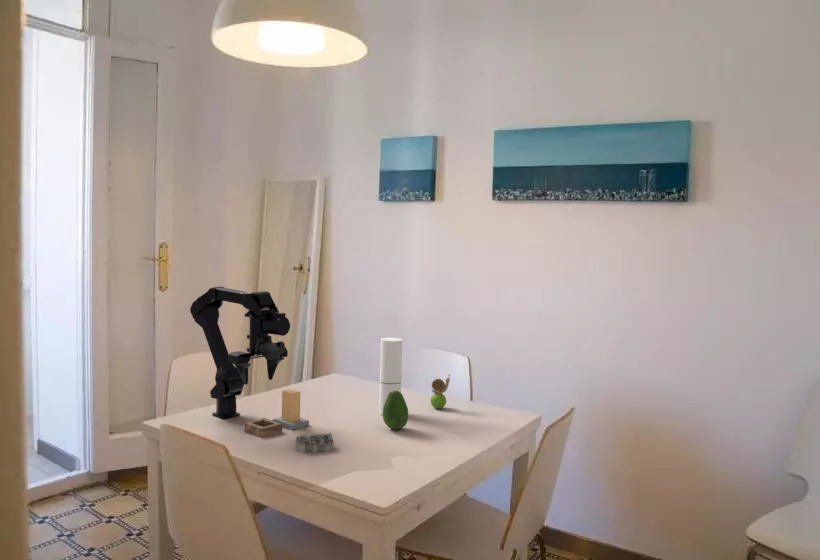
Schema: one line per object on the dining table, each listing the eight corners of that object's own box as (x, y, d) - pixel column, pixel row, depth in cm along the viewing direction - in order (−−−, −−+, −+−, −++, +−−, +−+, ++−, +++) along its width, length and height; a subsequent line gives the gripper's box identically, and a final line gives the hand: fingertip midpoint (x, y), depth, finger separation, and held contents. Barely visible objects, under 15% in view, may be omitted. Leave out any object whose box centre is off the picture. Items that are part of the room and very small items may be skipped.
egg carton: (295, 454, 182) (295, 439, 182) (295, 445, 189) (295, 431, 189) (333, 452, 184) (333, 438, 184) (332, 444, 191) (332, 430, 191)
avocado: (391, 424, 211) (392, 386, 211) (412, 428, 207) (413, 390, 207) (377, 430, 205) (378, 391, 204) (398, 434, 201) (399, 395, 200)
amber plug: (281, 419, 208) (282, 390, 207) (290, 417, 211) (290, 388, 210) (291, 422, 205) (291, 393, 204) (299, 419, 208) (300, 391, 207)
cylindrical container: (401, 410, 227) (403, 338, 225) (398, 416, 220) (401, 341, 218) (380, 409, 227) (382, 337, 225) (377, 415, 220) (379, 340, 218)
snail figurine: (449, 410, 229) (450, 376, 228) (430, 410, 229) (431, 375, 228) (448, 406, 234) (449, 372, 233) (430, 406, 234) (431, 372, 233)
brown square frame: (244, 431, 200) (244, 422, 200) (264, 425, 205) (264, 417, 205) (261, 437, 194) (262, 429, 194) (282, 431, 200) (282, 423, 200)
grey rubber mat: (272, 423, 208) (272, 418, 208) (290, 419, 213) (290, 414, 213) (291, 429, 202) (291, 425, 202) (308, 425, 208) (309, 420, 208)
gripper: (249, 338, 194) (249, 391, 195) (299, 332, 208) (298, 381, 209) (227, 334, 201) (226, 385, 202) (276, 328, 215) (276, 375, 216)
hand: (258, 382), depth 207 cm, fingers open, 9 cm apart
